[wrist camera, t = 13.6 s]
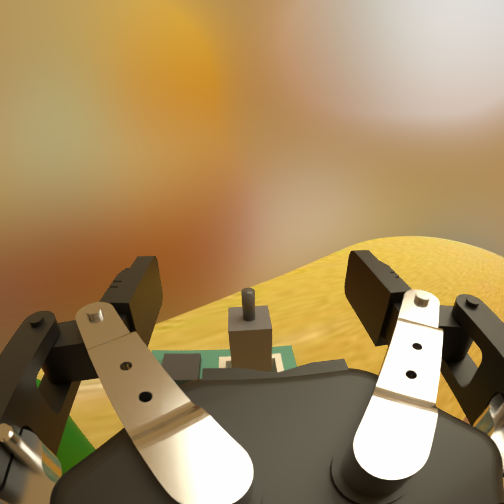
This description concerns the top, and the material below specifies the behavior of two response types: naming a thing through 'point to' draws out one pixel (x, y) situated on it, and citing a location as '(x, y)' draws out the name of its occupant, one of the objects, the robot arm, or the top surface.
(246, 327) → the plug
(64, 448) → the green pen holder
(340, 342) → the top surface
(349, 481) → the robot arm
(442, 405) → the top surface
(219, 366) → the board
